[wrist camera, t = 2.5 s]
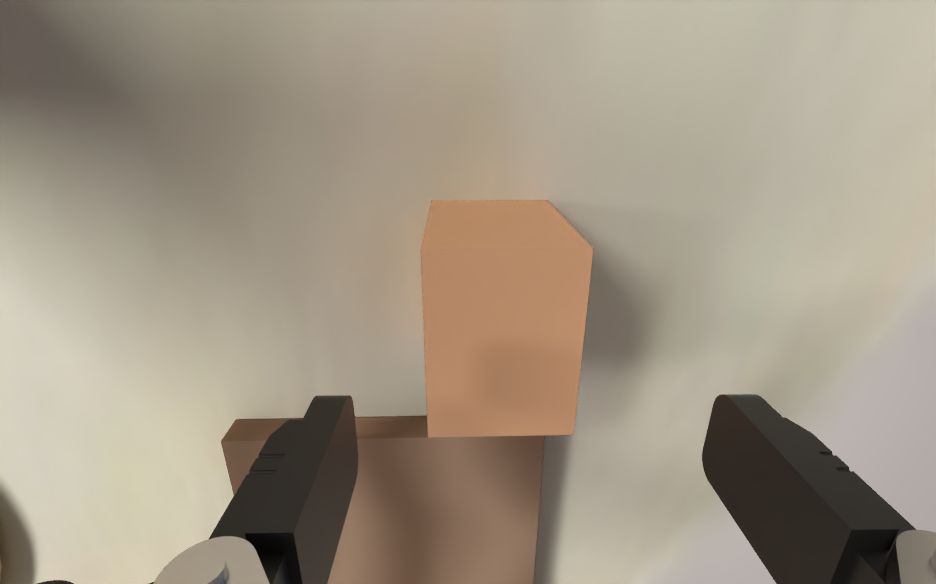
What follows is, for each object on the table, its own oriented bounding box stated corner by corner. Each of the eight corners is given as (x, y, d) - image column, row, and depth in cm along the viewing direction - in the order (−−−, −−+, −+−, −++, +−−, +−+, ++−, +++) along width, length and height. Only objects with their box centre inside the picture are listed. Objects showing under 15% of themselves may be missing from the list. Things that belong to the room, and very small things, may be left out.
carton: (435, 338, 20) (427, 437, 14) (431, 200, 18) (421, 249, 12) (541, 337, 20) (578, 434, 14) (551, 200, 18) (599, 248, 12)
